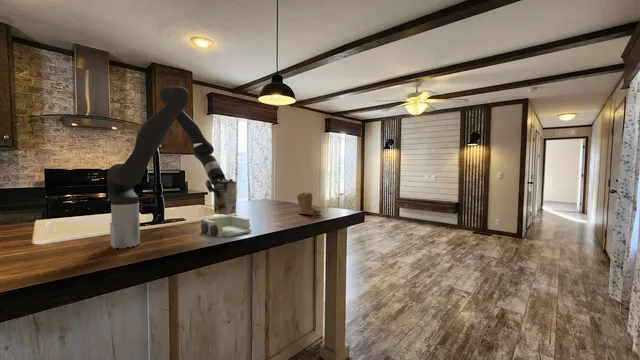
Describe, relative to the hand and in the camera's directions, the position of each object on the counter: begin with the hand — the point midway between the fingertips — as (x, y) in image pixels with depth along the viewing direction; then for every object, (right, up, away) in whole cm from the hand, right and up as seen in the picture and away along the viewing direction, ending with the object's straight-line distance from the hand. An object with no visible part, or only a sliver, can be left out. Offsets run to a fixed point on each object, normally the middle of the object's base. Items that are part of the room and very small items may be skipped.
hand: (226, 196), depth 137 cm
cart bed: (0, -17, 0) cm, 17 cm away
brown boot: (+37, -15, +50) cm, 65 cm away
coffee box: (-1, -9, +1) cm, 9 cm away
